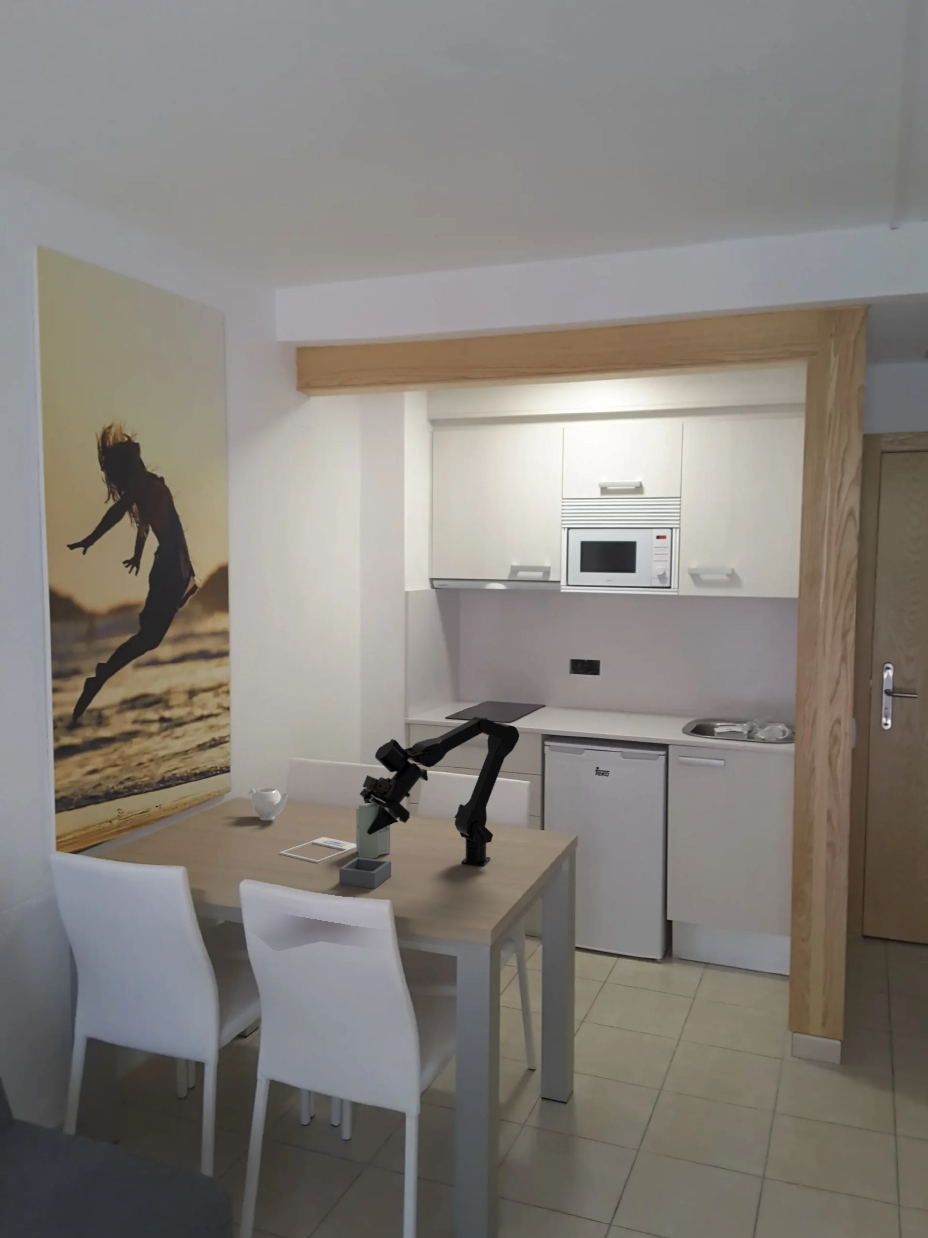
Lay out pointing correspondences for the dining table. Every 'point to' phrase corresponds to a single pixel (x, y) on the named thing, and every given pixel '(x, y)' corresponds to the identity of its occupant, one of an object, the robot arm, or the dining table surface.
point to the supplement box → (382, 837)
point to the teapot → (267, 802)
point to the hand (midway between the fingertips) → (363, 831)
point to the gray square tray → (365, 872)
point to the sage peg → (366, 841)
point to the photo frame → (324, 842)
